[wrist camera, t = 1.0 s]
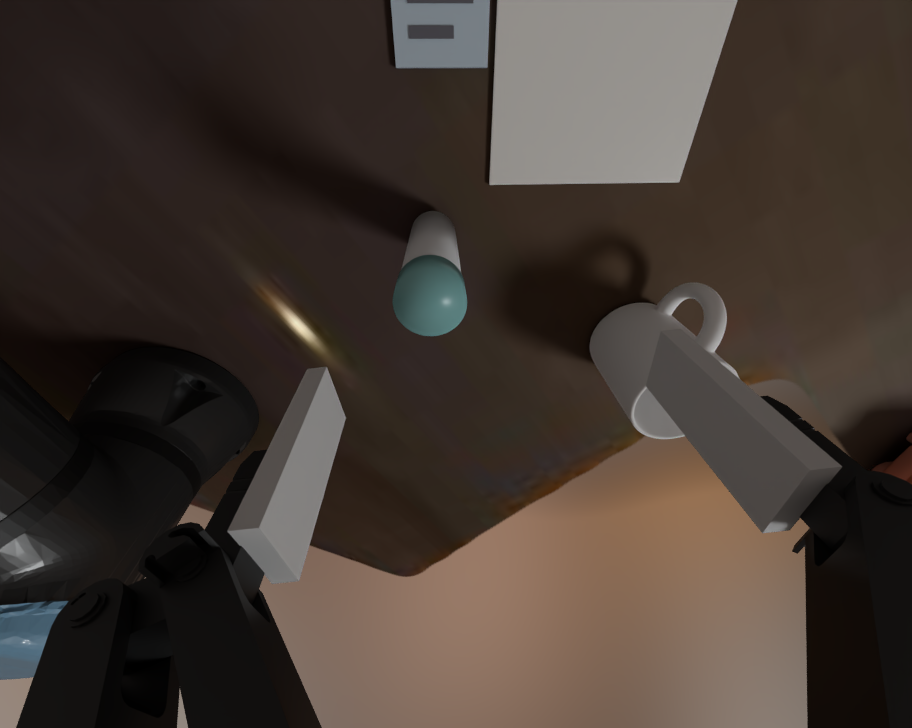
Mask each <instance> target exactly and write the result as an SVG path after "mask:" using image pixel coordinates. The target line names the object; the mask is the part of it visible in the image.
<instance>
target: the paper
mask: <svg viewBox="0 0 912 728" xmlns="http://www.w3.org/2000/svg"><path fill="white" fill-rule="evenodd" d="M736 3H737V0H497V13H496V36H495V59H494V82H493V105H492V128H491V151H490V175H489V185H510V184H589V183H668V182H679V181H680V178H681V175H682V172H683V169H684V166H685V162H686V159H687V156H688V153H689V150H690V147H691V144H692V141H693V137H694V134H695V131H696V128H697V125H698V122H699V119H700V116H701V112H702V109H703V106H704V103H705V100H706V97H707V94H708V91H709V87H710V84H711V81H712V78H713V75H714V72H715V69H716V66H717V62H718V59H719V56H720V53H721V50H722V47H723V44H724V41H725V38H726V34H727V31H728V28H729V25H730V22H731V19H732V16H733V13H734V9H735V6H736Z"/></svg>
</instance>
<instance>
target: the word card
mask: <svg viewBox="0 0 912 728" xmlns="http://www.w3.org/2000/svg"><path fill="white" fill-rule="evenodd" d="M489 5H490V0H391V11H392V23H393V36H394V49H395V61H396V68H487V63H488V34H489Z"/></svg>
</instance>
